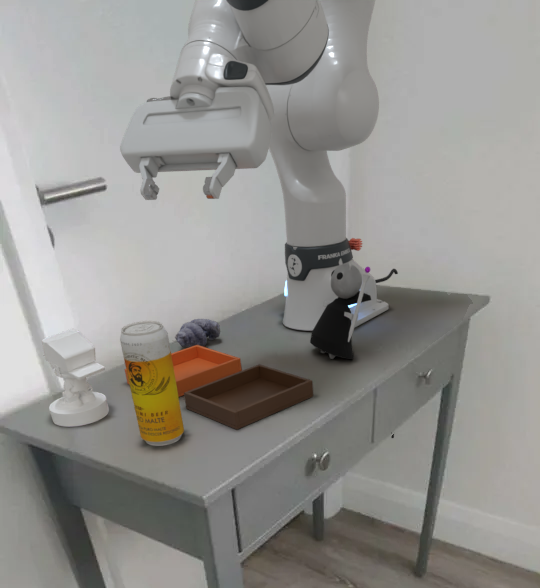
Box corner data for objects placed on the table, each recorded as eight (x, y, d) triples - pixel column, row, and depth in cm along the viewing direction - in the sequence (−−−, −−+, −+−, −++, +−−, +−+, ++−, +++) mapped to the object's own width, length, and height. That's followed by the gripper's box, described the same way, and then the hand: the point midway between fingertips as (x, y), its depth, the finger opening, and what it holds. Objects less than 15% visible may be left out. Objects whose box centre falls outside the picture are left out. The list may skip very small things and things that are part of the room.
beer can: (133, 445, 89) (108, 333, 80) (155, 427, 93) (134, 318, 84) (171, 449, 87) (150, 335, 78) (192, 431, 91) (174, 320, 82)
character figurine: (86, 400, 104) (66, 322, 97) (124, 411, 99) (106, 330, 91) (41, 419, 99) (16, 339, 91) (79, 432, 94) (56, 348, 86)
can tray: (199, 358, 116) (197, 344, 114) (242, 373, 108) (240, 358, 107) (127, 383, 108) (124, 369, 107) (168, 401, 101) (165, 385, 99)
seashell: (216, 344, 125) (180, 361, 120) (200, 320, 125) (163, 336, 119) (229, 329, 121) (193, 347, 116) (213, 304, 120) (176, 320, 115)
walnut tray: (260, 379, 105) (259, 363, 104) (313, 396, 98) (312, 380, 96) (186, 408, 98) (183, 392, 96) (236, 429, 91) (234, 412, 89)
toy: (298, 344, 114) (319, 251, 107) (331, 349, 117) (354, 259, 110) (327, 363, 106) (352, 263, 98) (361, 368, 109) (389, 271, 101)
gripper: (126, 79, 83) (98, 180, 83) (268, 64, 75) (237, 175, 75) (152, 120, 89) (126, 214, 88) (286, 109, 81) (258, 212, 81)
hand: (178, 196), depth 81 cm, fingers open, 8 cm apart
